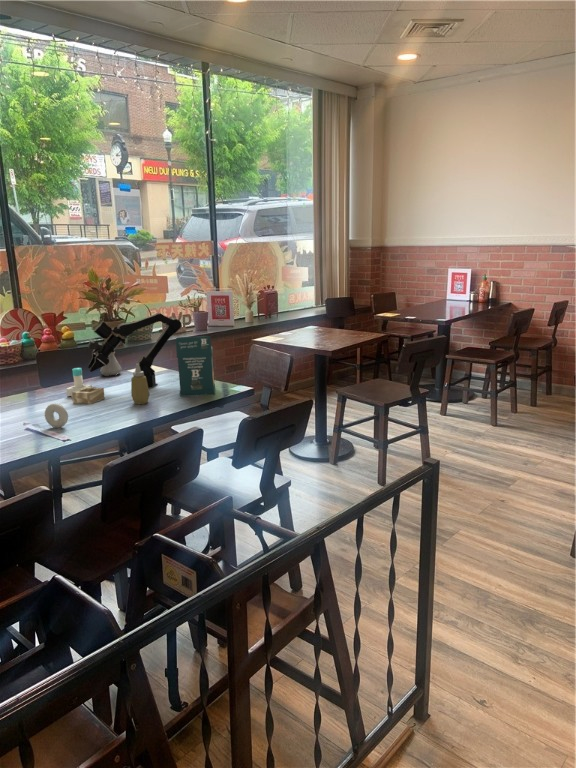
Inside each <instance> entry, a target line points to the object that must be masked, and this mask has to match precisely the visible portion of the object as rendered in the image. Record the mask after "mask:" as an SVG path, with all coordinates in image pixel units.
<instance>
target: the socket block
mask: <svg viewBox="0 0 576 768" xmlns="http://www.w3.org/2000/svg"><path fill="white" fill-rule="evenodd" d="M72 396H73V397H72V402H73V403H74V404H89V405H92V404H95V403H97V402H99V401H101V400H103V399H104V400H105V399H106V398H105V396H106V395H105V388H104V387H93V386H92V387H84V388H82V389H79V390H77V391H74V392H72ZM73 403H72V404H73Z"/></svg>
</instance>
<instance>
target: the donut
mask: <svg viewBox="0 0 576 768" xmlns="http://www.w3.org/2000/svg"><path fill="white" fill-rule="evenodd" d="M55 413H56V414H57V415H58V419H57V418H56V416H55ZM68 414H69V413H68V411H67V410H66V408H65V407H64V406H63V405H61V404H60V403H55V402H54V403H51V404H49V405H47V406H46V408H45V410H44V418H45V421H46V422H47V423H48V425H49V426H51V427H53V428H57V429H58V428H63V427H64V426H65V425H66V424H67V423H68V421H69V415H68Z"/></svg>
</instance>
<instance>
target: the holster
mask: <svg viewBox="0 0 576 768" xmlns="http://www.w3.org/2000/svg"><path fill="white" fill-rule="evenodd" d="M83 386H84V387H93V385H92V384H83ZM81 389H82V388H81ZM65 390H66V397H67V396H72V392H74V391H77V390H79V389H76V388H75V385H72V386H70V387H67V388H66V389H65ZM71 398H73V396H72V397H71Z"/></svg>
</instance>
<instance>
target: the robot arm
mask: <svg viewBox="0 0 576 768" xmlns="http://www.w3.org/2000/svg"><path fill="white" fill-rule="evenodd" d="M159 322H161V323H163V324H165V326H164V329H163V332H162V333H161V335H159V337H158V338H157V339H156V341H155V342H154V344H153V345H152V347H150V349H149V350H148V352H147V353H146V354H145V355H143V354H141V355H140V356H139V358H138V359H136V364H139V366H140V369H141V371H143V372H144V375H143V376H146V379H147V384H148V388H154V387H156V386H158V384H159V383H157V381H156V380H157V379H156V371H155V369H154V368H152V366H153V364H154V360H155V358H156V357H157V356H158V355H159V352H161V350H162V349H163V347H164V346H165V345H166V344H167V342H168V341H169V339H170V338H171V337H172V336H174V335H175V334H176V333H177V332H178V331H179V330H181V328H182V322H181V321H180V320H179V319H178V318H175V317H169V316H166V315H164V314H162V313H161V312H156V313H154V314H151V315H149V316H147V317H143V318H141V319H138V320H135V321H132V322H131V321H130V322H123V323H120V324H118V325H117V326H114V327H111V326H109V325H108V324H107V323H106V322H105V321H101V322H100V324H98V325H97V326H95V328H94V329H93V333H94V334H96V335H97V336H99V337H100V338H101V339H103V340H104V339H106V340H105V341H104V342H102V343H99V341H96V340H95V341H93V340H89V341H88V342H89V343H88V345H87V348H89V349H93V350H92V352H91V356H92V357H91V360H90V362H89V363H88V366H87V368H88V369H89V372H91V373H93V372H95V371H97V370H99V369H101V367H103V366H105V364H106V365H107V364H108V363H109V359H108V358H109V356H110V354H111V353H112V352H115V349H117V347H118V346H119V345H120V344H121V343H123V344H124V345H126V338H125V337H128V336H130V335H132V334H133V333H134V332H136V331H138V330H140V329H142V328H145V327H148V326H150V325H154V324H156V323H159Z"/></svg>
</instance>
